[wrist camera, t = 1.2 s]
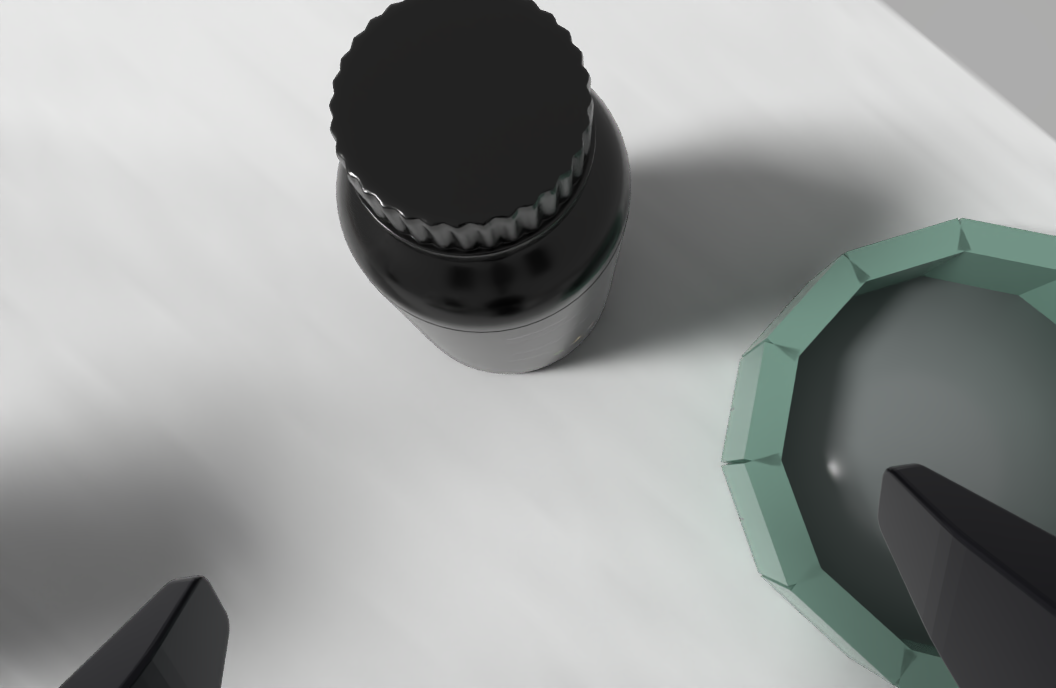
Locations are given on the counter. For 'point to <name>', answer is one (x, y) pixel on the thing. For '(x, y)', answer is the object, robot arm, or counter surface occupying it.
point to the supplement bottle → (480, 178)
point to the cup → (894, 421)
